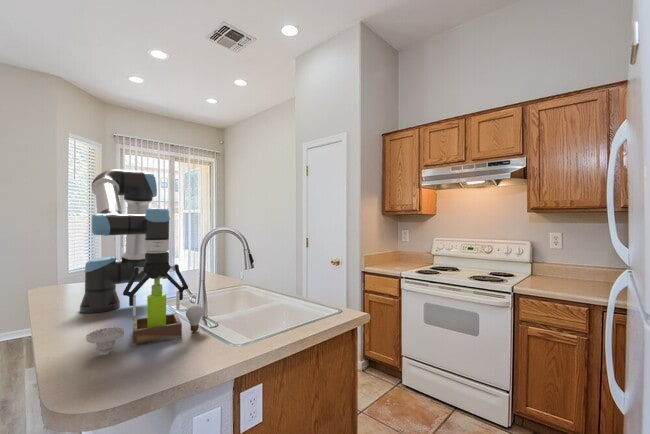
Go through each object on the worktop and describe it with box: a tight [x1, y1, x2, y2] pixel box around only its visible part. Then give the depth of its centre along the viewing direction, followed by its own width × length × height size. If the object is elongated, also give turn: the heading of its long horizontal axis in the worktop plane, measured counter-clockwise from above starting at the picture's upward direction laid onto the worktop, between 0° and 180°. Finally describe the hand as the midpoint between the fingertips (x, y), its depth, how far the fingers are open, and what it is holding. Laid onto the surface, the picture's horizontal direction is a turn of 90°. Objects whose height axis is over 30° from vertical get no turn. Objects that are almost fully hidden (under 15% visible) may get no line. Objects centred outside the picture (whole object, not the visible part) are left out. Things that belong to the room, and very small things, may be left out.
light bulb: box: [185, 303, 204, 333], centre depth 114 cm, size 6×6×10 cm
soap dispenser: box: [146, 276, 168, 328], centre depth 111 cm, size 6×7×20 cm
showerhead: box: [86, 326, 125, 356], centre depth 96 cm, size 9×7×10 cm
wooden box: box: [132, 312, 183, 348], centre depth 111 cm, size 14×14×5 cm
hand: (156, 312), depth 111 cm, fingers open, 13 cm apart
